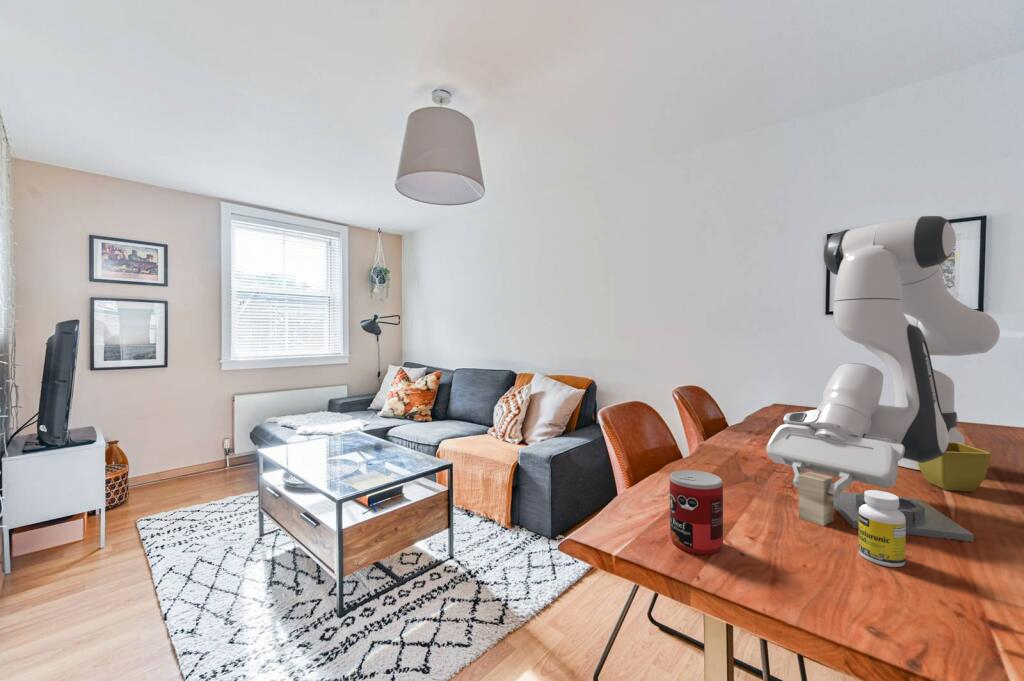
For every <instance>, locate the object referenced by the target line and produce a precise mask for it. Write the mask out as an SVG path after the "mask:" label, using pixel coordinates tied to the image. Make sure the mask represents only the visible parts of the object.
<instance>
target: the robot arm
mask: <svg viewBox="0 0 1024 681" xmlns="http://www.w3.org/2000/svg"><path fill="white" fill-rule="evenodd" d="M956 240H957V236H956V231H955V229H954V227H953V225H952V223H951V221H949V220H948V219H946V217H943V216H942V215H940V216H939V215H923V216H920V217H919V218H918V217H916V218H903V219H896V220H888V221H882V222H879V223H874V224H870V225H865V226H861V227H856V228H853V229H845V230H842V231H841V230H840V231H839V232H837V233H834V234H832V235H831V236H830V237H829V238H828V239H827V240H826V242H825V244H824V248H823V260H824V265H825V266H826V268H827V269H828V271H829V272H831V273H832V274H833V275H836V280H835V286H834V293H833V294H834V295H833V309H832V310H833V311H832V312H833V321H834V322H833V323H834V325H835V327H836V329H837V330H838V331H839V332H840V334H841V335H843V336H844V337H845V338H847V339H848V340H850V341H853V342H855V343H857V344H860V345H862V346H863V347H864V348H865V349H866V350H867V351H868V352H871V353H872V354H874V355H875V356H876V357H878V358H879V359H880V360H881V361H882V362H883V363H884V364H885V366H886V368H887V369H888V371H889V373H890V376H891V378H892V379H891V380H892V384H893V396H894V399H893V400H894V406H893V405H884V404H880V400H881V396H882V392H883V385H884V373H883V372H882V370H880V369H879V368H877V367H874V366H872V365H869V364H867V363H858V362H857V363H855V362H854V363H853V362H852V363H851V362H849V363H848V362H847V363H843V364H841V365H840V366H838V367H837V368H836V369H835V370H834V372H833V373H832V375H831V376H830V378H829V380H828V382H827V384H826V385H825V388H824V390H823V393H822V401H821V402H820V403H819V405H818V406H817V408H816V409H811V410H806V411H799V412H788V413H785V415H784V417H783V419H782V420H783V422H784V423H783V424H780V425H779V426H778V427H777V428H776V429H775V431H774V432H773V434H772V435H771V437H770V439H769V441H768V442H767V445H766V446H765V447H766V448H765V450H766V453H767V455H768V457H769V458H770V459H771V461H772V462H773V463H777V464H780V465H783V466H784V465H785V466H789V467H792V470H793V474H794V478H793V480H792V485H793V486H794V487H795V488H798V489H799V475H800V474H803V473H805V471H810V472H814V473H819V474H823V475H827V476H832V477H836V478H839V479H838V480H836V482H833V484H831V483H828V485H827V486H828V487H827V488H826V493H827V495H828V496H831V497H835V498H838V497H839V495H840V492H843V491H844V490H845V489H848V487H850V486H852V484H853V481H854V482H857V483H858V482H859V483H863V484H867V485H871V486H876V487H880V488H884V489H889V488H891V487H893V486H895V485H896V483H897V477H898V471H899V467H902V468H907V469H911V470H918V471H921V470H920V468H919V466H918V462H921V463H924V462H928V461H931V460H934V459H936V458H938V457H940V456H942V455H943V454H945V453H946V450H947V447H948V443H949V442H953V443H960V444H964V445H966V444H965V438H964V435H963V434H962V432H959V431H958V430H957V428H956V427H958V421H959V419H958V413H957V412H956V411H955V384H954V381H953V379H952V378H951V377H950V376H948V375H947V374H945V373H944V372H942V371H940V370H937V369H934V368H933V364H932V360H931V356H942V357H943V356H947V357H949V356H950V357H951V356H952V357H960V356H970V355H978V354H980V355H981V354H986V353H987V352H989V351H990V350H992V349H993V348H994V347H995V346H996V345H997V343H998V341H999V339H1000V333H1001V331H1000V327H999V325H998V324H999V323H997V321H996V320H995V318H993V317H992V316H991V315H989V314H988V313H986V312H983V311H981V310H980V311H979V310H977V309H974V308H971V307H970V306H967V305H966V304H964V303H962V302H961V301H959V300H957V298H955V297H954V296H953V295H952V294H951V293H950V292H949V290H948V289H947V287H946V284H945V282H944V279H943V275H942V272H941V267H940V265H941V264H943V263H944V262H945V261H947V260H948V259H949V258H950V257H951V256H952V254H953V250H954V249H955V246H956Z"/></svg>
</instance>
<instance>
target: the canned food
mask: <svg viewBox="0 0 1024 681" xmlns="http://www.w3.org/2000/svg"><path fill="white" fill-rule="evenodd" d="M723 488H724V485H723V479H722V478H721V477H720V476H718V475H716V474H713V473H710V472H707V471H702V470H693V469H690V470H689V469H687V470H686V469H684V470H683V469H681V470H675V471H673V472H670V474H669V528H670V529H669V530H670V531H669V532H670V533H669V535H670V538H671V542H672V544H673V545H674V546H676V547H677V548H679V549H680V550H683V551H685V552H688V553H691V554H697V555H713V554H717V553H719V552H720V551H722V550H721V549H722V548H723V545H724V489H723Z"/></svg>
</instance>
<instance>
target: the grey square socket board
mask: <svg viewBox="0 0 1024 681" xmlns="http://www.w3.org/2000/svg"><path fill="white" fill-rule="evenodd" d="M897 496H898V495H897ZM898 497H899V508H897V510H899V511H901V512H902V513H903V514H904V516H905V519H906V535H911V536H919V537H927V538H928V537H929V538H936V539H943V540H944V538H945V539H946V540H951V539H955V540H954V541H959V540H961V541H960V542H968V541H971V542H970V543H974V541H975V538H974V534H973V533H972V532H970V531H969V530H967V529H966V528H964V527H963V526H961V525H960V524H958V523H957V522H955V521H954V520H953V519H951V518H950V517H948V516H947V515H945V514H943V513H942V512H941V511H939V510H937V509H936V508H935V507H933V506H932V505H930V504H928V502H926V501H925V500H923V499H921V498H913V497H902V496H898ZM863 504H867V503H866V502H865V499H864V492H862V493H860V492H850V491H841V492H840V495H839V497H838V498H835V497H834V508H835V510H837V511H838V513H839V514H840V515H841V516H842V517H843V518H844V519H845V520H846V521H847V523H849V525H850V526H851V527H852V528H853V529H859V508H860V506H861V505H863Z"/></svg>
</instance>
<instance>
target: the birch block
mask: <svg viewBox="0 0 1024 681" xmlns="http://www.w3.org/2000/svg"><path fill="white" fill-rule="evenodd" d="M828 483H831V484H834V476H832V475H827V474H823V473H819V472H814V471H810V470H807V471H806V472H805V471H804V473H800V475H799V488H798V519H800V520H803V521H806V522H810V523H812V524H816V525H819V526H822V527H825V526H827V525H828V524H830V523H832V522H834V520H835V518H834V517H835V514H834V512H835V511H834V510H835V509H834V508H835V507H834V497H831V496H828V495H827V493H826V488H827V487H828V486H827V485H828Z"/></svg>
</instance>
